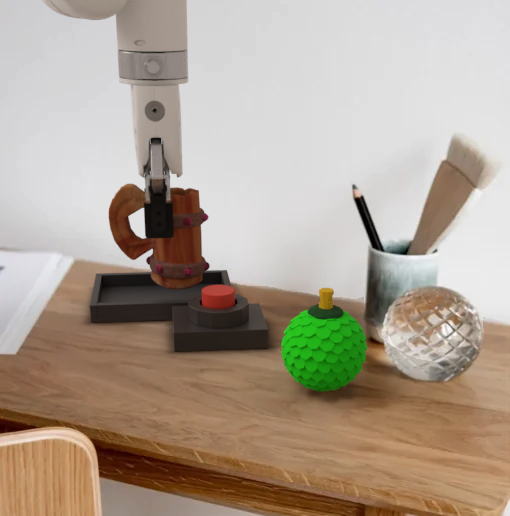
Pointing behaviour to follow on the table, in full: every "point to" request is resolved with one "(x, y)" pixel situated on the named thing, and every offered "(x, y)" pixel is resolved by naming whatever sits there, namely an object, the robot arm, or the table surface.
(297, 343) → the ornament
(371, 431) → the table surface
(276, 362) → the table surface
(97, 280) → the pan
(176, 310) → the panel
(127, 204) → the mug
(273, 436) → the table surface
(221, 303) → the button
